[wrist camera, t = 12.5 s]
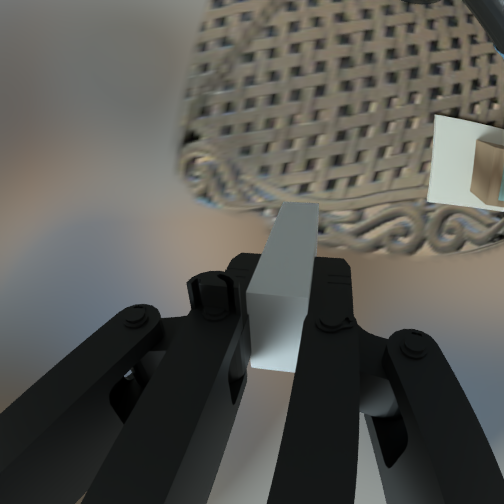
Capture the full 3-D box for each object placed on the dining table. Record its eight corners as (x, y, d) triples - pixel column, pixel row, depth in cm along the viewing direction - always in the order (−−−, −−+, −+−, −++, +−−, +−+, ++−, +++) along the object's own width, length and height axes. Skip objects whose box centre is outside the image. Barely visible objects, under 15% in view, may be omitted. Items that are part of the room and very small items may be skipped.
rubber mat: (434, 114, 35) (436, 114, 35) (520, 133, 32) (521, 134, 31) (426, 200, 41) (427, 201, 41) (508, 211, 38) (509, 212, 38)
